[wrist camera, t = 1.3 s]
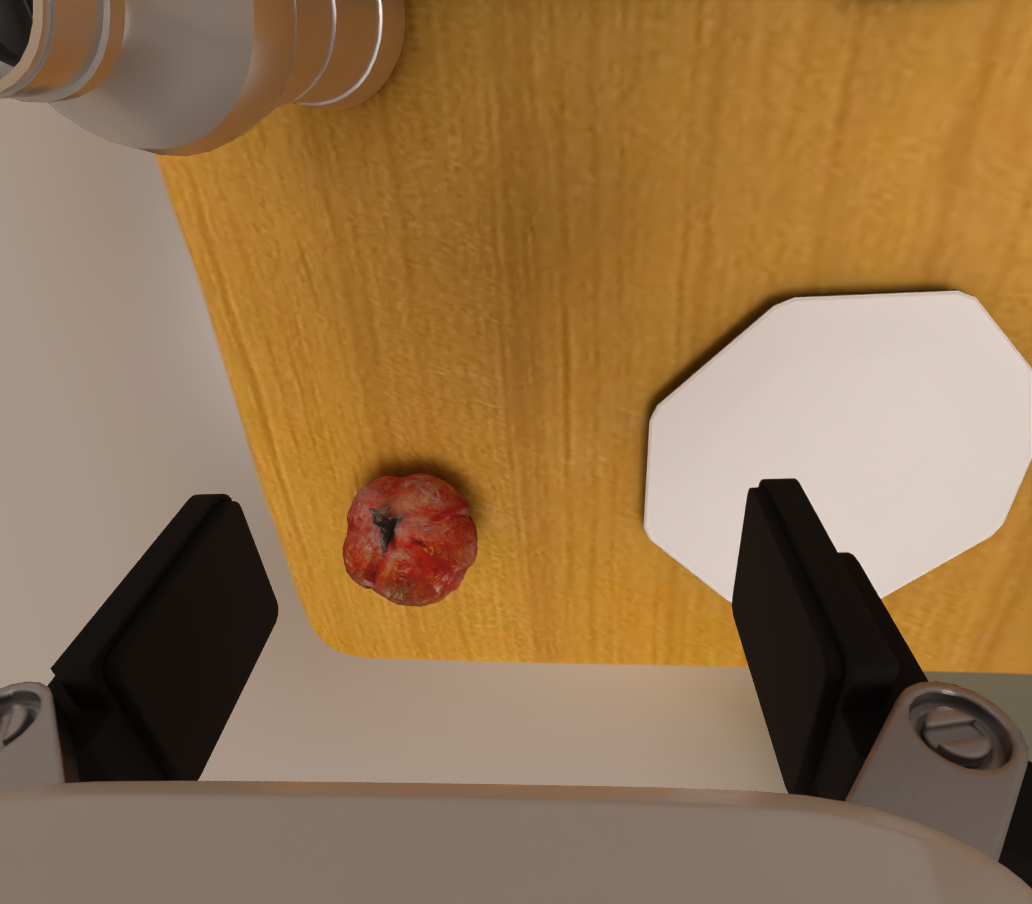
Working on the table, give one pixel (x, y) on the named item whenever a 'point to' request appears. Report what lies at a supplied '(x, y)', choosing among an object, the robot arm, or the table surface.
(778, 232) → the table surface
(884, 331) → the plate
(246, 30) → the plastic bottle
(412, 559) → the pomegranate
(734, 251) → the table surface
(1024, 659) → the table surface
